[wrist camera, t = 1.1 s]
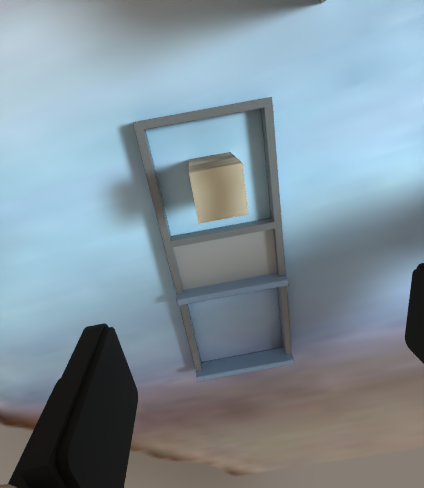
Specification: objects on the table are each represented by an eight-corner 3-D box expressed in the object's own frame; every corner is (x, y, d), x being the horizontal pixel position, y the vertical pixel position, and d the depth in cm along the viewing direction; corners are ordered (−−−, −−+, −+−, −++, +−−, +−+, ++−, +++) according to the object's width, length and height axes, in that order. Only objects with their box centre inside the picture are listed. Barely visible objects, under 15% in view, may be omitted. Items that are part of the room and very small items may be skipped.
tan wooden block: (230, 152, 32) (242, 162, 25) (235, 192, 34) (248, 214, 27) (188, 159, 32) (188, 172, 25) (196, 200, 34) (198, 223, 27)
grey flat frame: (268, 97, 30) (274, 96, 28) (288, 350, 44) (294, 363, 41) (135, 121, 30) (131, 122, 28) (196, 367, 44) (197, 381, 41)
